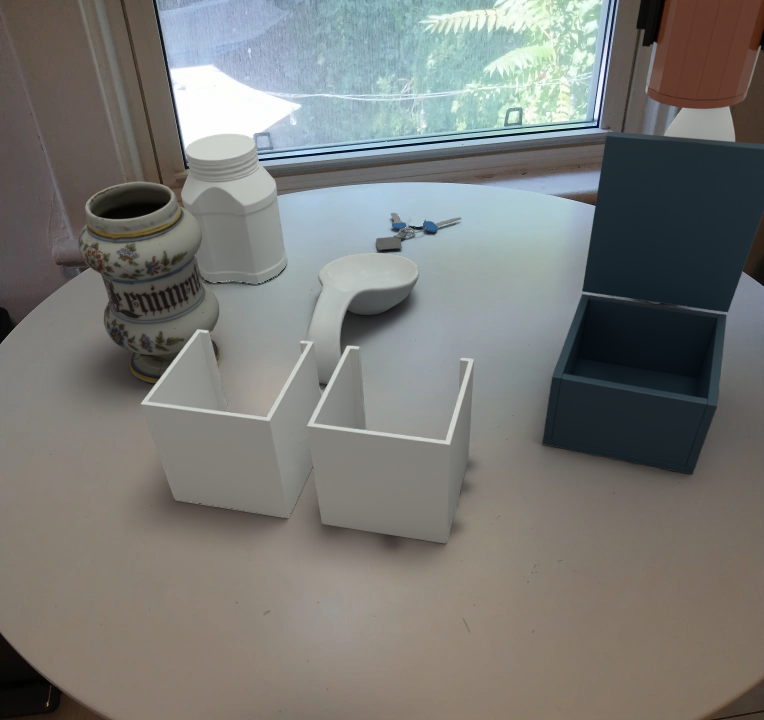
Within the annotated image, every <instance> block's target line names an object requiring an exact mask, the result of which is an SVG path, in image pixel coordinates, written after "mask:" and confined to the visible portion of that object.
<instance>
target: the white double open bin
mask: <svg viewBox="0 0 764 720" xmlns="http://www.w3.org/2000/svg"><path fill="white" fill-rule="evenodd" d="M211 339H212V336H211V332H210V333H209V331H208V330H199V329H197V331H196V332H195V333H194V334H193V336H192V337H191V338H190V340H189V341H188V342H187V344H186V345H185V346H184V348H183V349H182V350H181V352H180V353H179V354H178V355H177V357H176V358H175V359H174V361H173V362H172V363H171V365H170V366H169V367H168V369H167V370H166V371H165V373H164V374H163V375H162V376H161V378H160V379H159V380H158V382H157V383H156V384H154V385H153V387H152V388H151V389H150V390H149V392H148V393H147V395H146V396H145V398H143V400H142V401H141V402H140V407H141V409H142V412H143V414H144V415H143V416H144V418H145V420H146V422H147V426H148V428H149V432H150V435H151V438H152V440H153V443H154V446H155V450H156V452H157V455H158V457H159V460H160V463H161V466H162V469H163V472H164V475H165V478H166V480H167V483H168V486H169V488H170V491H171V494H172V497H173V499H178V500H174V501H176V502H181V503H189V504H195V505H201V506H208V507H214V508H219V509H226V510H230V511H231V510H232V511H237V512H244V513H245V512H246V513H251V514H258V515H263V516H270V517H277V518H283V519H288V520H289V519H290V517H291V515H292V513H293V511H294V510H295V509H294V508H295V507H296V505H297V503H298V500H299V498H300V496H301V494H302V492H303V489H304V487H305V485H306V483H307V480H308V479H309V476H310V474H311V472H312V469H313V474H314V481H315V487H316V493H317V500H318V501H317V502H318V507H319V512H320V513H319V515H320V520H321V525H327V526H333V527H337V528H338V527H339V528H343V529H344V528H345V529H351V530H358V531H364V532H370V533H377V534H383V535H389V536H396V537H402V538H407V539H413V540H414V539H415V540H420V541H426V542H433V543H439V544H444V545H445V544H446V545H447V544H448V540H449V536H450V533H451V529H452V526H453V525H452V524H453V521H454V516H455V512H456V510H457V509H456V508H457V505H458V501H459V498H460V493H461V489H462V486H463V481H464V478H465V474H466V470H467V467H468V461H469V458H470V457H469V456H470V443H471V421H472V407H473V406H472V405H473V390H474V389H473V387H474V368H475V358H467V357H460V358H459V359H460V360H459V375H458V396H457V399H456V404H455V407H454V411H453V414H452V418H451V420H450V424H449V428H448V431H447V433H446V434H447V435H446V438H445V440H444V439H437V438H429V437H421V436H413V435H405V434H398V433H390V432H382V431H376V430H367V423H366V410H365V395H364V384H363V382H364V381H363V370H362V358H361V346H359V345H358V346H356V345H348V344H347V345H346V347H345V349H344V351H343V353H342V354H341V359H340V361H339V363H338V365H337V367H336V369H335V371H334V373H333V375H332V377H331V379H330V381H329V383H328V384H326V387H325V388H324V391H323V393H322V395H321V389H320V383H319V380H318V372H317V364H316V357H315V349H314V342H311V341H306V340H302V339H301V341H299V346H300V352H301V355H300V356H299V359H298V360H297V362H296V364H295V365H294V368H293V369H292V371H291V373H290V375H289V376H288V378H287V380H286V381H285V384H284V386H283V387H282V388H281V391H280V392H279V393H278V395H277V398H276V400H275V401H274V403H273V404H272V407H271V408H270V410H269V412H268V414H267V415H266V416H259V415H253V414H247V413H246V414H245V413H238V412H230V411H229V405H228V402H227V398H226V393H225V391H224V386H223V382H222V378H221V373H220V370H219V366H218V362H217V361H218V360H217V361H216V357H215V353H214V349H213V345H212V341H211ZM298 496H299V497H298ZM181 500H183V501H181ZM187 501H188V502H187ZM189 501H190V502H189ZM191 501H192V502H191ZM193 502H197V503H193ZM199 503H202V504H199ZM206 504H207V505H206ZM212 505H214V506H212ZM215 505H216V506H215ZM218 506H221V507H218ZM225 507H227V508H225ZM231 508H233V509H231ZM237 509H240V510H237ZM292 509H293V510H292ZM243 510H246V511H243ZM250 511H252V512H250ZM256 512H258V513H256ZM262 513H264V514H262ZM290 513H291V514H290ZM269 514H270V515H269ZM275 515H276V516H275ZM281 516H283V517H281ZM288 517H289V518H288Z"/></svg>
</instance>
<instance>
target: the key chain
mask: <svg viewBox="0 0 764 720" xmlns="http://www.w3.org/2000/svg"><path fill="white" fill-rule="evenodd" d="M390 216H391V218H392V220H393V222H391V227H392V228H393V229H396V230H398V233H396V234H395V235H393V236H387V237H377V238H376V239H375V241H376V248H377V250H378V251H383V250H384V251H385V250H397V249H402V248H403V244H402V240H403V239H405V238H404V237H406V236H410V237H412V236H411V235H413V234H414V235H415V234H417V233H421V232H424V231H427V232H431V233H433V232H434V231H435V232H437V231H438V230H439V229H438V228H439V227H441V226H444V225H448V224H452V223H453V222H457V221H460V220H462V217H461V216H458V217H454V218H449V219H447V220H442V221H440V222H437V223H435V222H433V221H431V220H425V222H424V223H423V226H420V227H423V228H422V229H421V230H418V231H415V229H414V228H411V227H407V223H406V222H405V221H404V222H403V221H402V220H401V217H400V216H399V213H396V212H391V213H390ZM405 227H406V228H405ZM403 230H405V231H406V230H407V231H406V232H407V233H405V232H404V231H403ZM410 230H412V231H413V232H412V231H410ZM401 231H402V232H401ZM414 235H413V236H414ZM402 238H403V239H402ZM406 238H407V237H406ZM401 239H402V240H401Z"/></svg>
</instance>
